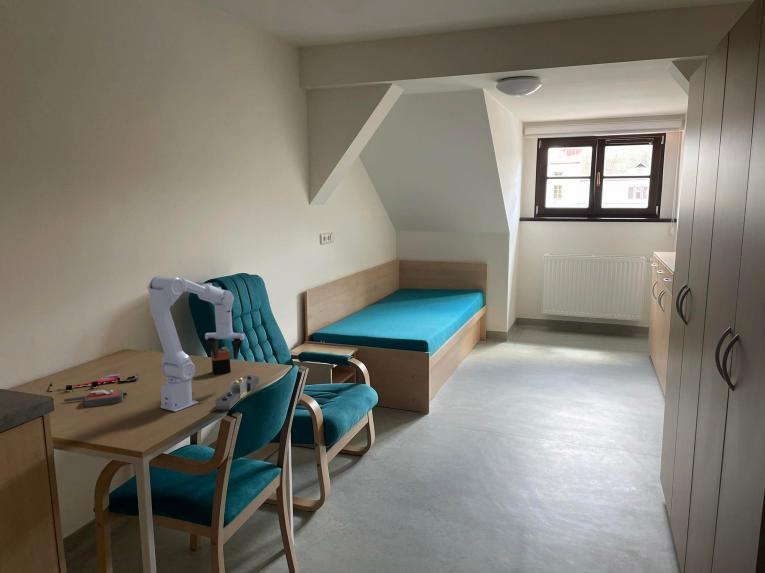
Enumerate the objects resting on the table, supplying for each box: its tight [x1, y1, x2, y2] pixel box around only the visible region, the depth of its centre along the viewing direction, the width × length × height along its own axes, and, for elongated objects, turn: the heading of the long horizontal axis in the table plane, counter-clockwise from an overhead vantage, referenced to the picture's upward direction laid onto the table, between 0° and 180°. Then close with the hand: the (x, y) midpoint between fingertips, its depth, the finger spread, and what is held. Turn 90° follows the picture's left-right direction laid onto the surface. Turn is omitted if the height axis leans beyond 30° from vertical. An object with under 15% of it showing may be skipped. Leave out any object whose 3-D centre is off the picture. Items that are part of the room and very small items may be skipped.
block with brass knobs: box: [229, 376, 247, 398], centre depth 195 cm, size 6×4×6 cm, turn 172°
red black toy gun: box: [65, 373, 139, 391], centre depth 212 cm, size 30×3×15 cm
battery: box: [210, 346, 231, 375], centre depth 222 cm, size 4×7×10 cm, turn 111°
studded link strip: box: [214, 374, 260, 411], centre depth 195 cm, size 26×5×4 cm, turn 172°
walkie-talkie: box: [63, 389, 128, 408], centre depth 191 cm, size 9×4×20 cm
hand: (226, 358), depth 205 cm, fingers open, 7 cm apart
